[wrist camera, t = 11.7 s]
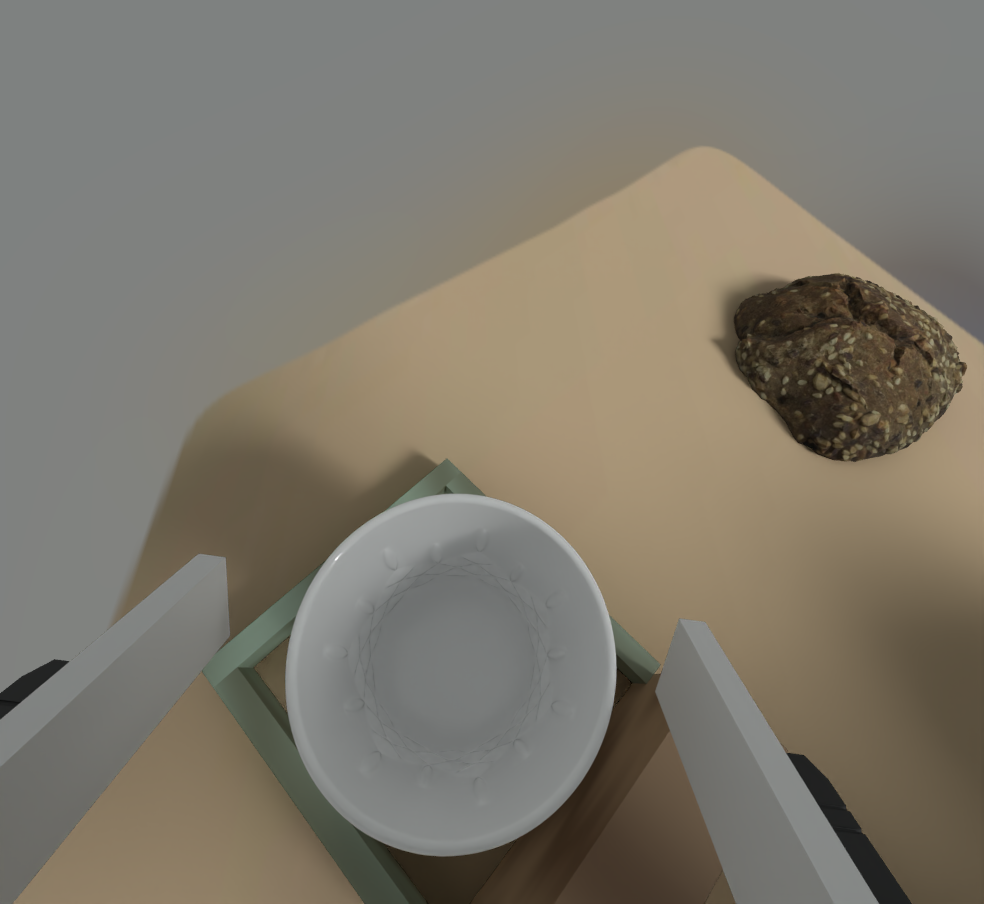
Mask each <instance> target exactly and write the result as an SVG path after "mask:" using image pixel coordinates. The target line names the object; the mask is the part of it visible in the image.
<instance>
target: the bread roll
mask: <svg viewBox="0 0 984 904" xmlns="http://www.w3.org/2000/svg"><path fill="white" fill-rule="evenodd" d="M735 330H736V333H737V336H738V338H739V339H740V340H741V342H739V343H738V346H737V349H736V359H737V362H738V364H739V367H740V370H741V371H742V372H743V373H744V374H745V375H746V377H747V378H748V380H749V382H750V384H751V387H752V389H753V390H754V391H755V392H757V393H758V395H759V396H760V397H761V399H763V400H766V401H767V402H768V403H769V404H770V405H771V406H772V407H773V408H774V409H776V410H777V412H778V413H779V414H780V415H781V416H782V418H783V419H784V420H785V421H786V423H787V424H788V427H789V429H790V431H791V433H792V435H793V436H794V437H795V439H796V440H797V442H798V443H800V444H802V443H803V444H804V445H806V446H808V447H811V448H812V449H813V450H814V451H815V452H817V453H818V454H821V455H823V456H825V457H828V458H830V459H832V460H840V461H854V462H856V461H859V460H863V459H868V458H873V457H879V456H882V455H885V454H892V453H895V452H897V451H899V450H901V449H904V448H907V447H908V446H909V445H910V444H911V443H912V442H917V441H918V440H919V439H920V437H921V435H922V434H923V433H924V432H927V430H928V429H930V428H931V426H932V425H933V424H934V422H935V421H936V420H937V419H939V418H940V417H941V416H942V415H943V414H944V413H945V411H946V410H947V408H948V407H949V406H950V405H949V403H951V400H952V399H953V396H954V395H955V394H956V393H958V392H960V391H961V389H962V387H963V386H962V383H963V381H962V379H961V377H962V376H963V375H964V374H965V371H966V369H967V365H966V363H964V362H960V360H959V356H958V354H959V353H958V352H957V347H956V346H955V345H954V343H953V341H952V336H951V335H949V334H948V333H947V332H946V331H945V330H944V329H943V326H942V325H941V324H940V323H938V320H937V319H936V318H934V317H932V316H930V315H928V314H927V313H926V312H925V311H923V310H920V308H919V307H918V306H913V305H912V303H911V302H909V301H907V300H903V299H902V298H901V297H900V296H897V295H896V294H894V293H892V292H889V291H886V290H885V289H884V288H883V287H879V286H878V285H877V284H874V283H872V282H870V281H864V280H862V279H861V278H858V277H856V278H855V277H851V276H849V275H844V274H839V273H838V274H830V275H822V276H812V277H810V276H808V277H805V278H802V279H797V280H795V281H794V282H792V283H790V284H788V285H787V286H786V287H784V288H781V289H777V288H776V289H775V290H774V291H771V292H769V293H765V294H757V295H754V296H752V297H751V298H748V299H746V300H744V301H743V302H742V303H741V305H740V307H739V309H738V310H737V312H736V315H735Z"/></svg>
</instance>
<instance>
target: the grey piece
mask: <svg viewBox="0 0 984 904" xmlns="http://www.w3.org/2000/svg"><path fill="white" fill-rule="evenodd" d="M440 494H473V495H480V496H485V495H484V494H483V493H482V492H481V491H480V490H479V489H478V488H477V487H476V486H475V485H474V484H473V483H472V482H471V481H470V480H469V479H468V478H467V477H466V476H465V475H464V474H463V473H462V472H461V471H459V470H458V469H457V468H456V467H455V466H454V465H453V464H452V463H451V462H450V461H449V460H448V459H446V460H444V461H443V462H442V463H441V464H440V465H438V466H437V467H436V468H435V469H434V470H433V471H431V472H430V473H429V474H428V475H427V476H425V477H424V478H423V479H422V480H421V481H420V482H418V483H417V484H416V485H415V486H414V487H412V488H411V489H410V490H409V491H408V492H406V493H405V494H404V495H403V496H402V497H401V498H399V499H398V500H397V501H396V502H395V503H393V504H392V505H391V506H390V507H389V508H387V509H386V510H388V509H390V508H393V507H395V506H397V505H400V504H402V503H405V502H408V501H411V500H415V499H418V498H422V497H427V496H433V495H440ZM386 510H385V511H386ZM324 563H325V562H323V563H322V564H321V565H320V566H319V567H318V568H316V569H315V570H314V571H313V572H312V573H310V574H309V575H308V576H307V577H306V578H304V579H303V580H302V581H301V582H300V583H299V584H297V585H296V586H295V587H294V588H293V589H291V590H290V591H289V592H288V593H287V594H285V595H284V596H283V597H282V598H281V599H280V600H278V601H277V602H276V603H275V604H274V605H272V606H271V607H270V608H269V609H268V610H267V611H265V612H264V613H263V614H262V615H261V616H259V617H258V618H257V619H256V620H255V621H253V622H252V623H251V624H250V625H249V626H248V627H246V628H245V629H244V630H243V631H242V632H240V633H239V634H238V635H237V636H236V637H234V638H233V639H232V640H231V641H230V642H229V643H227V644H226V645H225V646H224V647H223V648H221V649H220V650H219V651H218V652H217V653H216V654H215V655H214V656H213V657H212V659H211V660H210V661H209V662H208V664H207V665H206V666H205V667H204V668H203V670H202V672H203V674H204V675H205V676H206V678H207V679H208V681H209V682H210V684H211V685H212V686H213V688H214V689H215V691H216V692H217V694H218V695H219V696H220V698H221V699H222V701H223V702H224V704H225V705H226V706H227V708H228V709H229V711H230V712H231V714H232V715H233V716H234V718H235V719H236V721H237V722H238V724H239V725H240V726H241V728H242V729H243V731H244V732H245V734H246V735H247V736H248V738H249V739H250V741H251V742H252V744H253V745H254V746H255V748H256V749H257V751H258V752H259V754H260V755H261V756H262V758H263V759H264V761H265V762H266V764H267V765H268V766H269V768H270V769H271V771H272V772H273V774H274V775H275V776H276V778H277V779H278V781H279V782H280V784H281V785H282V786H283V788H284V789H285V791H286V792H287V794H288V795H289V796H290V798H291V799H292V801H293V802H294V803H295V805H296V806H297V808H298V809H299V811H300V812H301V813H302V815H303V816H304V818H305V819H306V821H307V822H308V823H309V825H310V826H311V828H312V829H313V831H314V832H315V833H316V835H317V836H318V838H319V839H320V841H321V842H322V843H323V845H324V846H325V848H326V849H327V851H328V852H329V853H330V855H331V856H332V858H333V859H334V861H335V862H336V863H337V865H338V866H339V868H340V869H341V871H342V872H343V873H344V875H345V876H346V878H347V879H348V881H349V882H350V883H351V885H352V886H353V888H354V889H355V891H356V892H357V893H358V895H359V896H360V898H361V899H362V901H363V902H364V903H365V904H428V903H427V902H426V901H425V899H424V898H423V897H422V895H421V894H420V892H419V891H418V890H417V888H416V887H415V886H414V884H413V883H412V882H411V880H410V879H409V878H408V876H407V875H406V874H405V872H404V871H403V869H402V868H401V867H400V865H399V864H398V863H397V861H396V860H395V859H394V857H393V856H392V855H391V853H390V852H389V851H388V849H387V848H386V846H385V845H384V844H383V843H382V842H380V841H378V840H376V839H374V838H372V837H370V836H369V835H367V834H365V833H364V832H362V831H361V830H359V829H358V828H356V827H355V826H354V825H352V824H351V823H350V822H349V821H347V820H346V819H345V818H344V817H343V816H342V815H341V814H340V813H339V812H337V811H336V809H335V808H334V807H333V806H332V805H331V804H330V803H329V802H328V801H327V799H326V798H325V797H324V796H323V794H322V793H321V792H320V790H319V789H318V788H317V786H316V785H315V783H314V782H313V780H312V778H311V777H310V775H309V773H308V771H307V769H306V768H305V766H304V763H303V761H302V759H301V757H300V754H299V752H298V749H297V747H296V744H295V741H294V738H293V734H292V731H291V727H290V722H289V717H288V714H287V713H286V711H285V710H284V709H283V707H282V706H281V704H280V703H279V702H278V700H277V699H276V698H275V696H274V695H273V694H272V692H271V691H270V690H269V688H268V687H267V686H266V684H265V683H264V682H263V680H262V679H261V677H260V676H259V675H258V673H257V672H256V671H255V669H254V668H253V667H254V666H256V665H257V664H258V663H259V662H260V661H261V660H262V659H263V658H265V657H266V656H267V655H268V654H269V653H270V652H271V651H273V650H274V649H275V648H276V647H277V646H278V645H279V644H280V643H282V642H283V641H284V640H285V639H286V638H287V637H288V636H289V635H291V632H292V628H293V625H294V621H295V618H296V615H297V612H298V610H299V607H300V605H301V602H302V600H303V598H304V596H305V594H306V592H307V590H308V588H309V586H310V584H311V582H312V581H313V579H314V577H315V576H316V574H317V573H318V571H319V570H320V568H321V567H322V565H323V564H324ZM609 617H610V621H611V625H612V630H613V635H614V641H615V650H616V667H617V668H618V669H619V670H620V671H621V672H622V673H623V674H624V675H625V676H626V677H627V678H628V679H629V680H630V681H631V682H632V685H631V686H630V688H629V689H628V690H627V692H626V693H625V694H624V696H623V697H622V698H621V700H620V701H619V702H618V704H617V705H616V707H615V708H614V709H613V711H612V713H611V717H610V721H609V724H608V728H607V731H606V734H605V736H604V739H603V742H602V744H601V747H600V749H599V751H598V753H597V756H596V758H595V760H594V761H593V763H592V765H591V767H590V769H589V770H588V772H587V774H586V775H585V777H584V778H583V780H582V781H581V783H580V784H579V786H578V787H577V788H576V790H575V791H574V792H573V793H572V794H571V796H570V797H569V798H568V799H567V800H566V801H565V802H564V803H563V805H562V806H561V807H560V808H559V809H558V810H556V811H555V812H554V813H553V814H552V815H551V816H550V817H549V818H547V819H546V820H545V821H544V822H542V823H541V824H540V825H538V826H537V827H536V828H534V829H533V830H531V831H529V832H528V833H526V834H525V835H523V836H521V837H519V838H518V839H517V841H516V842H515V843H514V845H513V846H512V848H511V849H510V850H509V852H508V853H507V854H506V856H505V857H504V858H503V860H502V861H501V862H500V864H499V865H498V866H497V868H496V869H495V871H494V872H493V873H492V875H491V876H490V877H489V879H488V880H487V881H486V883H485V884H484V885H483V887H482V888H481V890H480V891H479V892H478V894H477V895H476V896H475V898H474V899H473V900H472V902H471V903H470V904H704V903H705V901H706V900H707V898H708V896H709V894H710V892H711V890H712V889H713V887H714V885H715V883H716V881H717V879H718V878H719V876H720V874H721V872H722V870H723V868H722V866H721V863H720V860H719V858H718V855H717V853H716V850H715V847H714V845H713V842H712V839H711V837H710V834H709V832H708V829H707V826H706V824H705V821H704V818H703V816H702V813H701V811H700V808H699V805H698V803H697V800H696V797H695V795H694V792H693V790H692V787H691V784H690V782H689V779H688V776H687V774H686V771H685V769H684V766H683V763H682V761H681V758H680V756H679V753H678V750H677V748H676V745H675V742H674V740H673V737H672V735H671V732H670V729H669V727H668V724H667V721H666V719H665V716H664V714H663V711H662V708H661V706H660V703H659V700H658V698H657V695H656V693H655V690H656V687H657V684H658V681H659V678H660V675H661V674H654V673H655V672H656V670H657V669H658V668H659V666H660V664H659V663H658V662H657V661H656V660H655V659H654V658H653V657H652V656H651V655H650V654H649V653H648V652H647V651H646V650H645V649H644V648H643V647H642V646H641V645H640V644H639V643H638V642H637V641H635V640H634V639H633V638H632V637H631V636H630V635H629V634H628V633H627V632H626V631H625V630H624V629H623V628H622V627H621V626H620V625H619V624H618V623H617V622H616V621H615V620H614V619H613V618H612V617H611V616H610V615H609ZM780 744H781V743H780ZM781 746H782V747H783V749H784V751H785V752H786V753H787V752H788V750H787V749H786V748H785V747H784V746H783V745H782V744H781Z"/></svg>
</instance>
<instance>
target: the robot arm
mask: <svg viewBox="0 0 984 904" xmlns="http://www.w3.org/2000/svg"><path fill="white" fill-rule="evenodd" d="M229 636H230V624H229V607H228V589H227V572H226V557H219V556H212V555H205V554H198V555H196V556H195V557H194V558H193V559H192V560H191V561H189V562H188V563H187V564H186V565H185V566H183V567H182V568H181V569H180V570H179V571H177V572H176V573H175V574H174V575H173V576H171V577H170V578H169V579H168V580H167V581H165V582H164V583H163V584H162V585H161V586H159V587H158V588H157V589H156V590H155V591H153V592H152V593H151V594H150V595H149V596H147V597H146V598H145V599H144V600H143V601H142V602H140V603H139V604H138V605H137V606H136V607H134V608H133V609H132V610H131V611H130V612H128V613H127V614H126V615H125V616H124V617H122V618H121V619H120V620H119V621H118V622H116V623H115V624H114V625H113V626H112V627H110V628H109V629H108V630H107V631H106V632H105V633H103V634H102V635H101V636H100V637H99V638H97V639H96V640H95V641H94V642H93V643H91V644H90V645H89V646H88V647H87V648H85V649H84V650H83V651H82V652H81V653H79V654H78V655H77V656H76V657H75V658H73V659H72V660H71V661H70V662H69V661H62V660H55V659H54V660H53V661H51V662H49V663H47V664H45V665H43V666H41V667H39V668H37V669H35V670H33V671H32V672H30V673H28V674H26V675H24V676H22V677H21V678H19V679H18V680H17V681H15V682H14V683H13V684H12V685H10V686H9V687H8V688H6V689H5V690H4V691H3V692H1V693H0V904H13V902H14V901H15V900H16V899H17V897H18V896H19V895H20V894H21V893H22V891H23V890H24V889H25V888H26V886H27V885H28V884H29V883H30V881H31V880H32V879H33V878H34V877H35V875H36V874H37V873H38V872H39V870H40V869H41V868H42V867H43V865H44V864H45V863H46V862H47V861H48V859H49V858H50V857H51V856H52V854H53V853H54V852H55V851H56V849H57V848H58V847H59V846H60V844H61V843H62V842H63V841H64V840H65V838H66V837H67V836H68V835H69V833H70V832H71V831H72V830H73V828H74V827H75V826H76V825H77V824H78V822H79V821H80V820H81V819H82V817H83V816H84V815H85V814H86V812H87V811H88V810H89V809H90V808H91V806H92V805H93V804H94V803H95V801H96V800H97V799H98V798H99V796H100V795H101V794H102V793H103V792H104V790H105V789H106V788H107V787H108V785H109V784H110V783H111V782H112V780H113V779H114V778H115V777H116V776H117V774H118V773H119V772H120V771H121V769H122V768H123V767H124V766H125V764H126V763H127V762H128V761H129V760H130V758H131V757H132V756H133V755H134V753H135V752H136V751H137V750H138V748H139V747H140V746H141V745H142V744H143V742H144V741H145V740H146V739H147V737H148V736H149V735H150V734H151V732H152V731H153V730H154V729H155V728H156V726H157V725H158V724H159V723H160V721H161V720H162V719H163V718H164V716H165V715H166V714H167V713H168V712H169V710H170V709H171V708H172V707H173V705H174V704H175V703H176V702H177V700H178V699H179V698H180V697H181V696H182V694H183V693H184V692H185V691H186V689H187V688H188V687H189V686H190V684H191V683H192V682H193V681H194V680H195V678H196V677H197V676H198V675H199V673H200V672H201V671H202V670H203V668H204V667H205V666H206V665H207V664H208V662H209V661H210V660H211V659H212V657H213V656H214V655H215V654H216V652H217V651H218V650H219V649H220V648H221V646H222V645H223V644H224V643H225V641H226V640H227V639H228V638H229ZM655 693H656V695H657V698H658V700H659V703H660V706H661V708H662V711H663V714H664V716H665V719H666V721H667V724H668V727H669V729H670V732H671V735H672V737H673V740H674V742H675V745H676V748H677V750H678V753H679V756H680V758H681V761H682V763H683V766H684V769H685V771H686V774H687V776H688V779H689V782H690V784H691V787H692V790H693V792H694V795H695V797H696V800H697V803H698V805H699V808H700V811H701V813H702V816H703V818H704V821H705V824H706V826H707V829H708V832H709V834H710V837H711V839H712V842H713V845H714V847H715V850H716V853H717V855H718V858H719V860H720V863H721V866H722V868H723V871H724V874H725V876H726V879H727V881H728V884H729V887H730V889H731V892H732V895H733V897H734V900H735V902H736V904H912V903H911V902H910V901H909V899H908V898H907V896H906V895H905V893H904V892H903V890H902V889H901V887H900V886H899V884H898V883H897V881H896V880H895V878H894V877H893V875H892V874H891V872H890V871H889V869H888V868H887V866H886V865H885V863H884V862H883V860H882V859H881V857H880V856H879V854H878V853H877V851H876V850H875V848H874V847H873V845H872V844H871V842H870V841H869V839H868V838H867V836H866V835H864V834H862V832H861V827H860V826H859V824H858V823H857V822H856V820H855V819H854V817H853V816H852V814H851V813H850V811H847V810H846V805H845V804H844V802H843V801H842V799H841V798H840V796H839V795H838V793H837V792H836V790H835V789H834V787H833V786H832V784H831V783H830V781H829V780H828V779H827V778H826V777H825V776H824V775H823V774H822V773H821V772H820V771H819V770H818V769H817V768H816V767H815V766H814V765H813V764H812V763H811V762H810V761H809V760H808V759H807V758H806V757H805V756H804V755H799V754H791V753H786V752H785V751H784V749H783V747H782V746H781V744H780V742H779V741H778V739H777V738H776V736H775V734H774V733H773V731H772V730H771V728H770V726H769V725H768V723H767V721H766V720H765V718H764V717H763V715H762V713H761V712H760V710H759V708H758V707H757V705H756V704H755V702H754V700H753V699H752V697H751V695H750V694H749V692H748V691H747V689H746V687H745V686H744V684H743V683H742V681H741V679H740V678H739V676H738V674H737V673H736V671H735V670H734V668H733V666H732V665H731V663H730V661H729V660H728V658H727V657H726V655H725V653H724V652H723V650H722V648H721V647H720V645H719V644H718V642H717V640H716V639H715V637H714V636H713V634H712V632H711V631H710V629H709V627H708V626H707V624H706V623H705V622H702V621H694V620H687V619H679V621H678V624H677V627H676V630H675V633H674V636H673V639H672V642H671V645H670V648H669V651H668V654H667V657H666V660H665V663H664V666H663V669H662V672H661V675H660V678H659V681H658V684H657V687H656V690H655Z"/></svg>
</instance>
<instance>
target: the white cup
mask: <svg viewBox="0 0 984 904" xmlns="http://www.w3.org/2000/svg"><path fill="white" fill-rule="evenodd" d="M615 688H616V650H615V641H614V635H613V630H612V625H611V621H610V617H609V614H608V610H607V607H606V604H605V602H604V599H603V596H602V594H601V592H600V590H599V587H598V585H597V583H596V581H595V579H594V578H593V576H592V574H591V572H590V571H589V569H588V567H587V566H586V564H585V563H584V561H583V560H582V559H581V557H580V556H579V555H578V553H577V552H576V551H575V550H574V549H573V547H572V546H571V545H570V544H569V543H568V542H567V541H566V540H565V539H564V538H563V537H562V536H561V535H560V534H559V533H558V532H557V531H555V530H554V529H553V528H552V527H551V526H549V525H548V524H547V523H545V522H544V521H542V520H541V519H540V518H538V517H536V516H535V515H533V514H531V513H530V512H528V511H526V510H524V509H522V508H520V507H518V506H515V505H513V504H510V503H507V502H505V501H502V500H498V499H495V498H491V497H486V496H480V495H473V494H440V495H433V496H427V497H422V498H418V499H415V500H411V501H408V502H405V503H402V504H400V505H397V506H395V507H393V508H390V509H388V510H386V511H384V512H382V513H381V514H379V515H377V516H375V517H374V518H372V519H371V520H369V521H368V522H366V523H365V524H363V525H362V526H361V527H359V528H358V529H357V530H355V531H354V532H353V533H352V534H351V535H349V536H348V537H347V538H346V539H345V540H344V541H343V542H342V543H341V544H340V545H339V546H338V547H337V548H336V549H335V550H334V552H333V553H332V554H331V555H330V556H329V557H328V559H327V560H326V561H325V563H324V564H323V565H322V567H321V568H320V570H319V571H318V573H317V574H316V576H315V577H314V579H313V581H312V582H311V584H310V586H309V588H308V590H307V592H306V594H305V596H304V598H303V600H302V602H301V605H300V607H299V610H298V612H297V615H296V618H295V621H294V625H293V628H292V632H291V636H290V640H289V646H288V651H287V659H286V671H285V692H286V704H287V711H288V717H289V722H290V727H291V731H292V734H293V738H294V741H295V744H296V747H297V749H298V752H299V754H300V757H301V759H302V761H303V763H304V766H305V768H306V769H307V771H308V773H309V775H310V777H311V778H312V780H313V782H314V783H315V785H316V786H317V788H318V789H319V790H320V792H321V793H322V794H323V796H324V797H325V798H326V799H327V801H328V802H329V803H330V804H331V805H332V806H333V807H334V808H335V809H336V811H337V812H339V813H340V814H341V815H342V816H343V817H344V818H345V819H346V820H347V821H349V822H350V823H351V824H352V825H354V826H355V827H356V828H358V829H359V830H361V831H362V832H364V833H365V834H367V835H369V836H370V837H372V838H374V839H376V840H378V841H380V842H382V843H384V844H386V845H389V846H391V847H394V848H397V849H400V850H403V851H407V852H411V853H416V854H421V855H428V856H461V855H469V854H474V853H479V852H483V851H487V850H490V849H493V848H496V847H499V846H502V845H504V844H507V843H509V842H511V841H513V840H515V839H517V838H519V837H521V836H523V835H525V834H526V833H528V832H529V831H531V830H533V829H534V828H536V827H537V826H538V825H540V824H541V823H542V822H544V821H545V820H546V819H547V818H549V817H550V816H551V815H552V814H553V813H554V812H555V811H556V810H558V809H559V808H560V807H561V806H562V805H563V803H564V802H565V801H566V800H567V799H568V798H569V797H570V796H571V794H572V793H573V792H574V791H575V790H576V788H577V787H578V786H579V784H580V783H581V781H582V780H583V778H584V777H585V775H586V774H587V772H588V770H589V769H590V767H591V765H592V763H593V761H594V760H595V758H596V756H597V753H598V751H599V749H600V747H601V744H602V742H603V739H604V736H605V734H606V731H607V728H608V724H609V721H610V717H611V713H612V708H613V703H614V696H615Z"/></svg>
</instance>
